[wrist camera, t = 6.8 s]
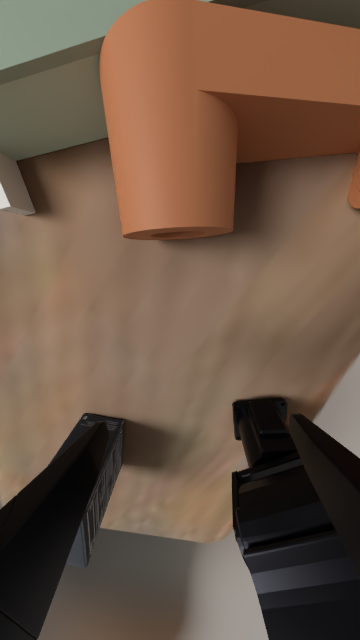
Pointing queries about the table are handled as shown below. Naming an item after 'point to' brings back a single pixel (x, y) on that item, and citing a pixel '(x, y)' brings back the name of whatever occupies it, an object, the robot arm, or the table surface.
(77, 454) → the robot arm
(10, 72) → the chute mount
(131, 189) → the crank
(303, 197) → the table surface
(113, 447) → the small box
